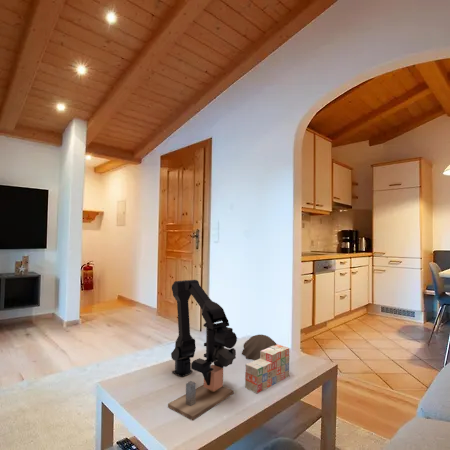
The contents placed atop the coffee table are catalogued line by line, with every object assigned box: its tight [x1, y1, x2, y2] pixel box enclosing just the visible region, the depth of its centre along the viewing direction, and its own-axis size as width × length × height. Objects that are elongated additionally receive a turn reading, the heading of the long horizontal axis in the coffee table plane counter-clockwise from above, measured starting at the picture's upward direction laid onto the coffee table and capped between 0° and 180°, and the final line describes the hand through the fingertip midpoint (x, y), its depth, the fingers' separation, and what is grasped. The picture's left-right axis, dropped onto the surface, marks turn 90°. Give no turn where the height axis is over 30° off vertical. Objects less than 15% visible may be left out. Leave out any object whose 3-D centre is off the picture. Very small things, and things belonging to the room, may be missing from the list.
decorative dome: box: [241, 334, 278, 361], centre depth 156 cm, size 19×20×10 cm
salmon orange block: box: [203, 364, 224, 391], centre depth 117 cm, size 5×5×7 cm
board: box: [167, 383, 235, 421], centre depth 112 cm, size 12×22×1 cm, turn 141°
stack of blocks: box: [244, 343, 290, 394], centre depth 127 cm, size 21×6×12 cm, turn 134°
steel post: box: [185, 380, 197, 406], centre depth 108 cm, size 2×2×8 cm
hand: (213, 382), depth 117 cm, fingers closed on salmon orange block, 5 cm apart
